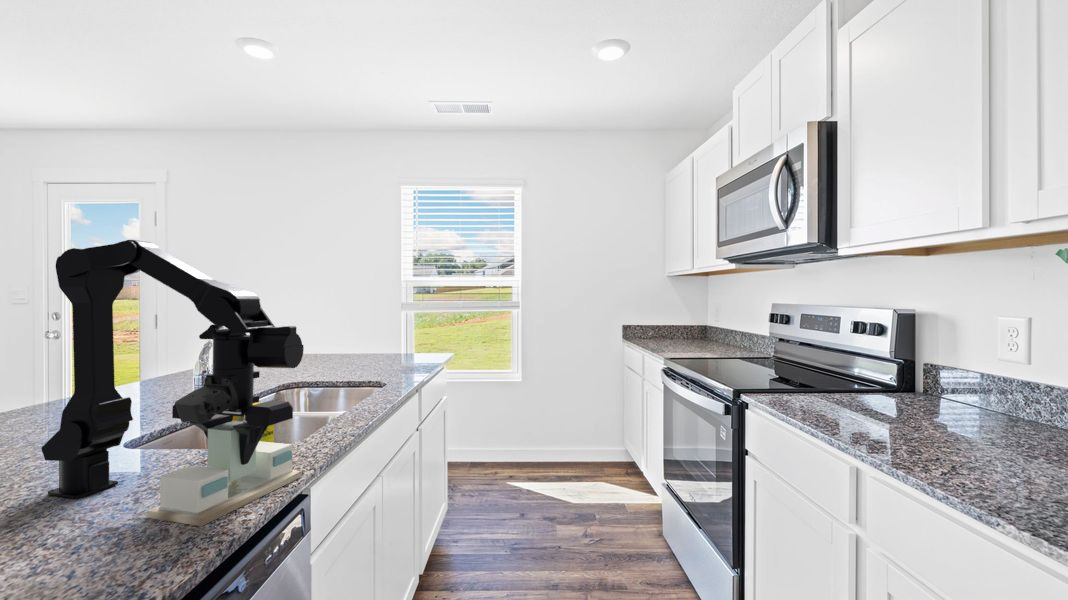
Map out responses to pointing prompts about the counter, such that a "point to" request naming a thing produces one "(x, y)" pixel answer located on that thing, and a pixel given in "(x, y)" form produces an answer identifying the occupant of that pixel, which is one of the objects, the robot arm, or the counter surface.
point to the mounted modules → (218, 479)
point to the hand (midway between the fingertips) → (232, 462)
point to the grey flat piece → (232, 491)
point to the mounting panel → (227, 506)
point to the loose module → (228, 451)
